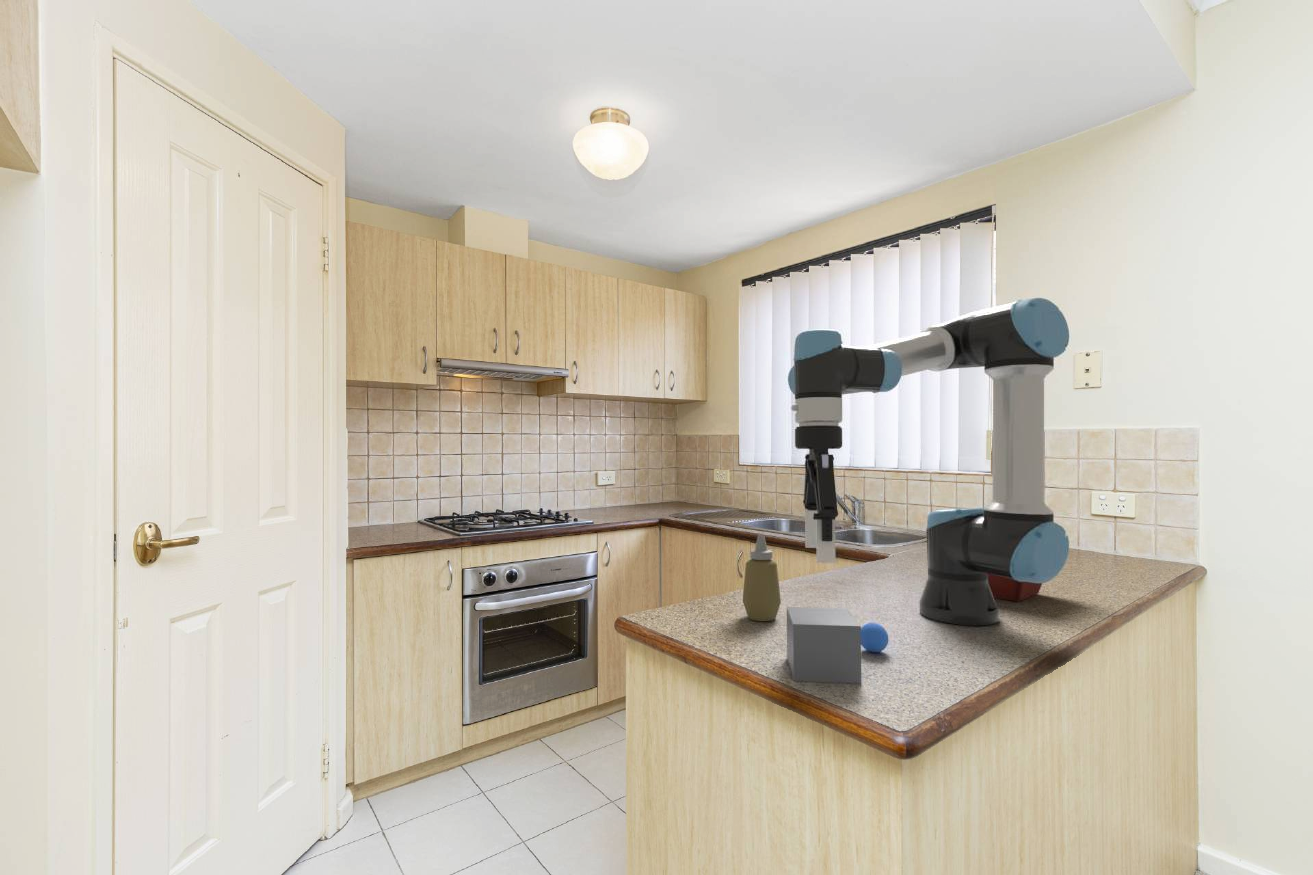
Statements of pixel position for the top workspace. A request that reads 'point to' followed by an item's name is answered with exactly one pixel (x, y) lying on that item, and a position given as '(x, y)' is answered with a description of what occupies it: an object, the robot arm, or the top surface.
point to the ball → (874, 637)
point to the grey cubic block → (823, 645)
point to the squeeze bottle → (761, 584)
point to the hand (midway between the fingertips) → (819, 554)
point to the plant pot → (1012, 588)
